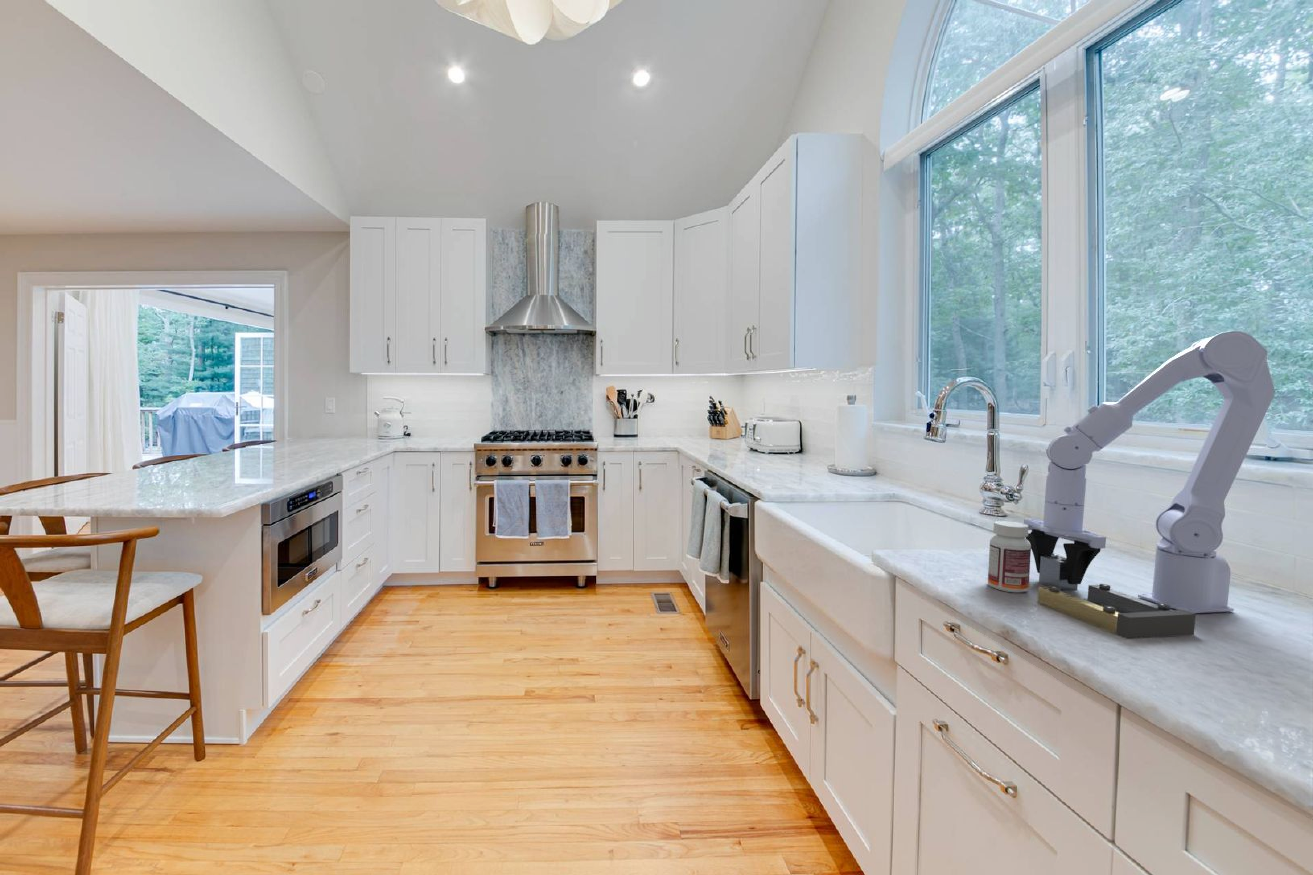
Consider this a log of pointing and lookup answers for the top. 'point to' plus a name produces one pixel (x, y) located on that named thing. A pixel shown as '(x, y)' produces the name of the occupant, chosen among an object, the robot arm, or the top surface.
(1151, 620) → the block
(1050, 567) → the grey bolted block
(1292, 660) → the top surface
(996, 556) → the pill bottle
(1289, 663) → the top surface
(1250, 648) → the top surface
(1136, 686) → the top surface
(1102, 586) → the steel end link
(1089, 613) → the brass end link
